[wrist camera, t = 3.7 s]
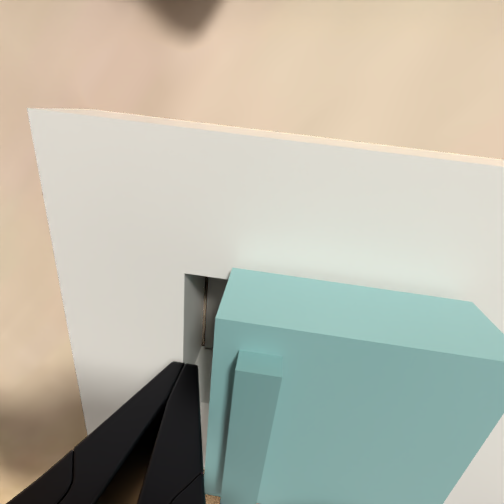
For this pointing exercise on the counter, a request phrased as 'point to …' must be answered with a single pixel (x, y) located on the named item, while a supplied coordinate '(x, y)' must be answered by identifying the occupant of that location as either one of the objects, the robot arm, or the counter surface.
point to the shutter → (346, 392)
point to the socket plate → (249, 239)
